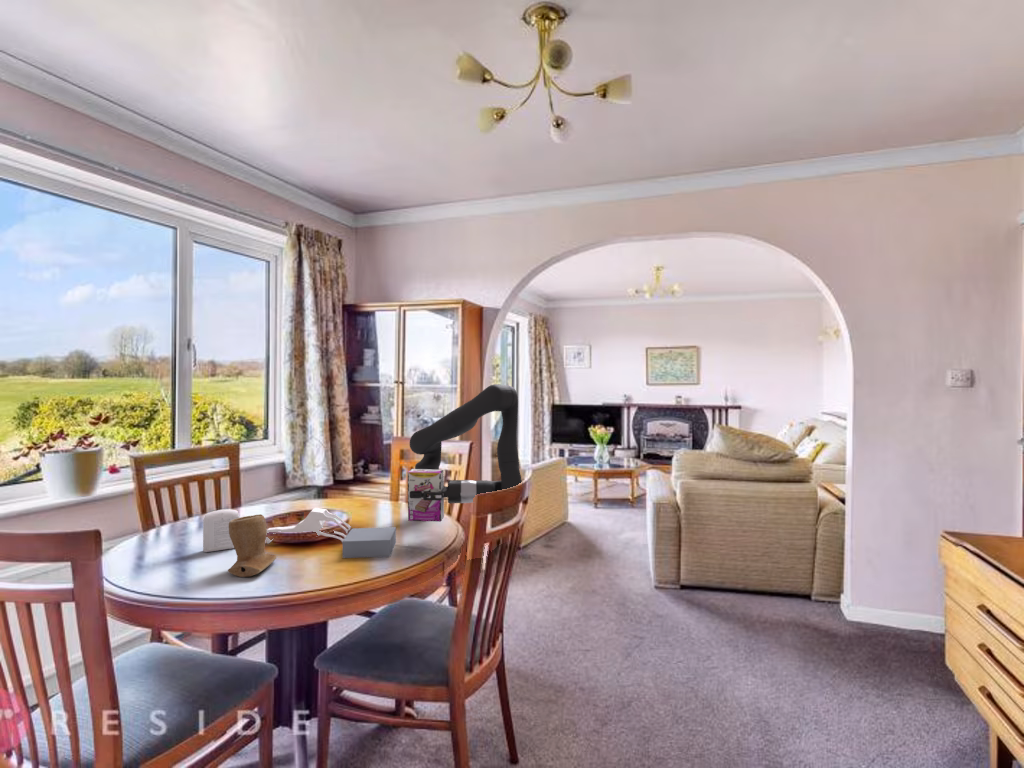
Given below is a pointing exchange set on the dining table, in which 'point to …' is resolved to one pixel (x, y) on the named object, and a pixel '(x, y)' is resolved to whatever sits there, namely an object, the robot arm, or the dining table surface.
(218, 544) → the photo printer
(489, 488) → the robot arm
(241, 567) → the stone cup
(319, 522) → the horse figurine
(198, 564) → the dining table surface
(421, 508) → the candy bar box
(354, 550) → the slate block
